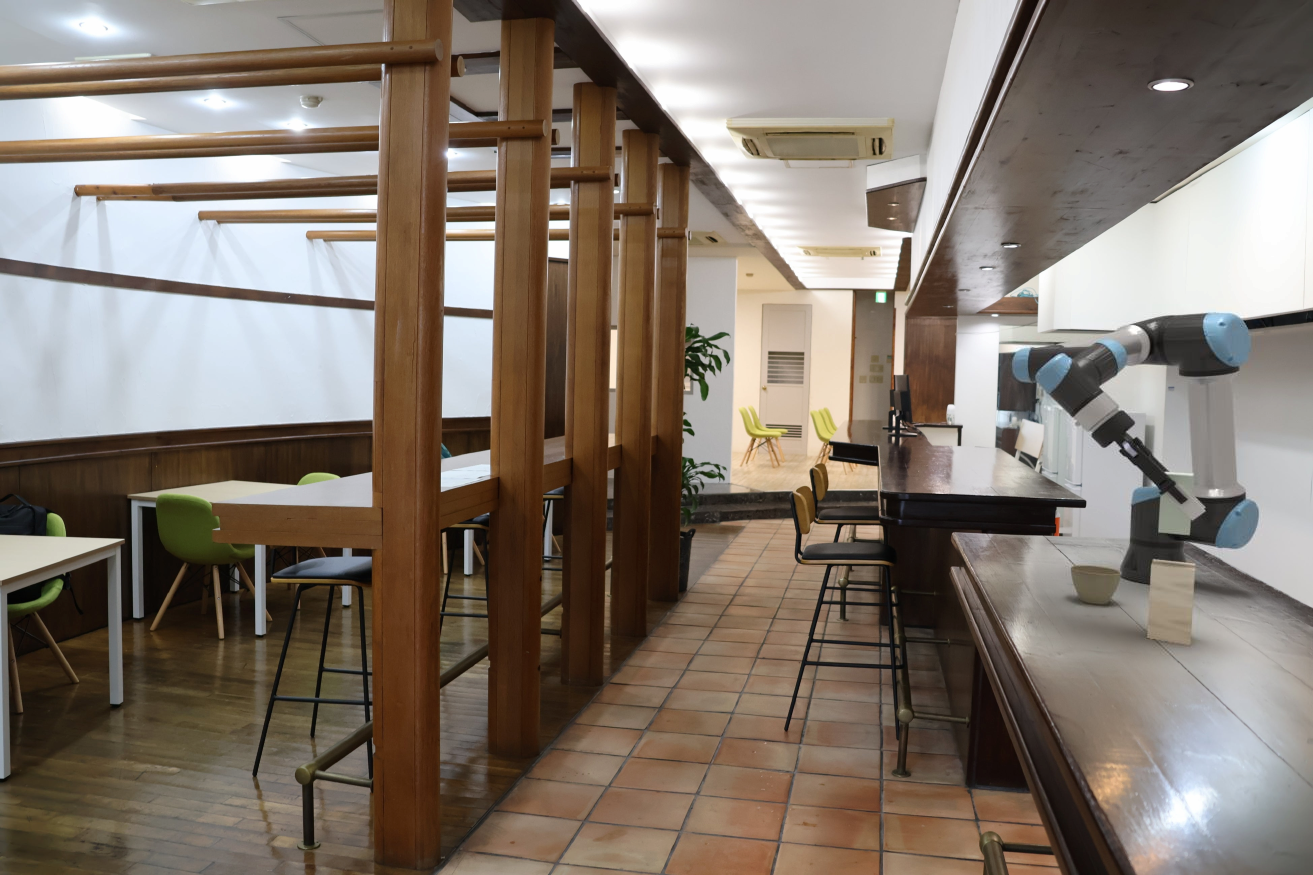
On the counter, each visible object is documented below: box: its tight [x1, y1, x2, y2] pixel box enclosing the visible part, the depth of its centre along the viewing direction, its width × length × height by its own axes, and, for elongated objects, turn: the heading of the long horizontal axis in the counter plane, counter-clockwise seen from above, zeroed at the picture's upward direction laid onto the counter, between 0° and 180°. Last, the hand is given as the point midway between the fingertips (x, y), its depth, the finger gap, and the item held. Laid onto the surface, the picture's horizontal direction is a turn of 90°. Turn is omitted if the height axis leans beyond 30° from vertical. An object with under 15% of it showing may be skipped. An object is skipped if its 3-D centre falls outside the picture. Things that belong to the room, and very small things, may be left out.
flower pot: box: [1070, 564, 1122, 605], centre depth 194 cm, size 10×10×7 cm
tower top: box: [1148, 559, 1196, 609], centre depth 167 cm, size 7×7×7 cm
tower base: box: [1146, 601, 1194, 646], centre depth 167 cm, size 7×7×7 cm
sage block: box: [1158, 471, 1193, 535], centre depth 166 cm, size 5×5×11 cm
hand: (1198, 513), depth 164 cm, fingers closed on sage block, 5 cm apart
